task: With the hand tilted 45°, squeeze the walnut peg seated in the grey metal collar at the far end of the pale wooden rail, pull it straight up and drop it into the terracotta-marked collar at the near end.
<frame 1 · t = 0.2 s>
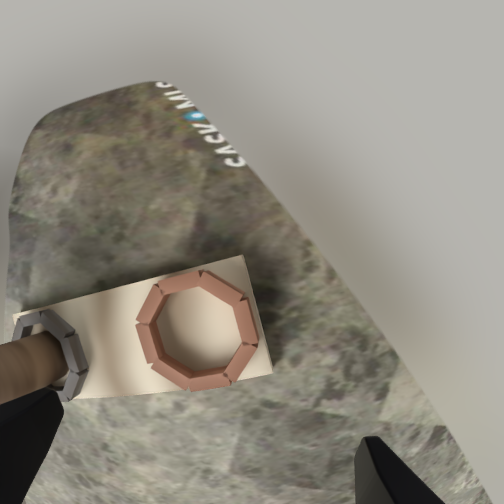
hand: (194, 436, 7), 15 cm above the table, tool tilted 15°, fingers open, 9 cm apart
walnut peg: (51, 354, 23), point 1 cm above the table, touching socket rail
socket rail: (120, 341, 23), on the table
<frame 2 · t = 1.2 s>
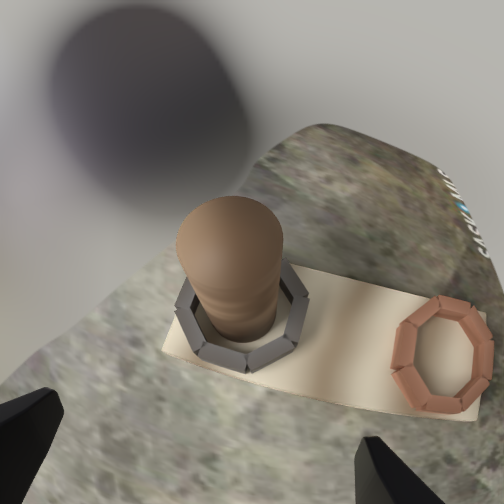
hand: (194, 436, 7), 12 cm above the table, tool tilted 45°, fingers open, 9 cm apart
walnut peg: (242, 310, 21), point 1 cm above the table, touching socket rail
socket rail: (344, 342, 20), on the table
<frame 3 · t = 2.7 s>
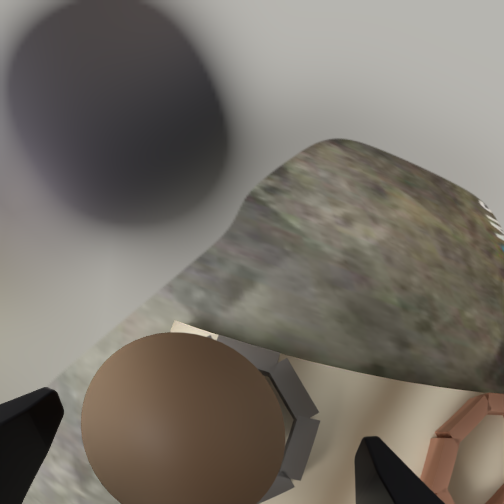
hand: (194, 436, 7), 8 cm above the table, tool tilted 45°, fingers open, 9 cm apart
walnut peg: (224, 425, 13), point 1 cm above the table, touching socket rail
socket rail: (362, 457, 13), on the table
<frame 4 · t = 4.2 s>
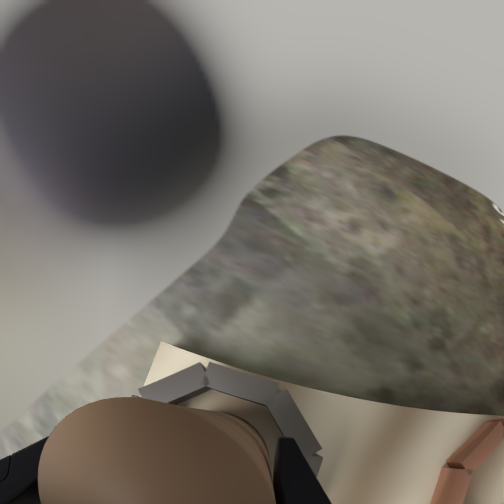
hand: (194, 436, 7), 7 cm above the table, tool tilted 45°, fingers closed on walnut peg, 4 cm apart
walnut peg: (217, 458, 11), point 1 cm above the table, touching gripper, socket rail
socket rail: (367, 487, 11), on the table
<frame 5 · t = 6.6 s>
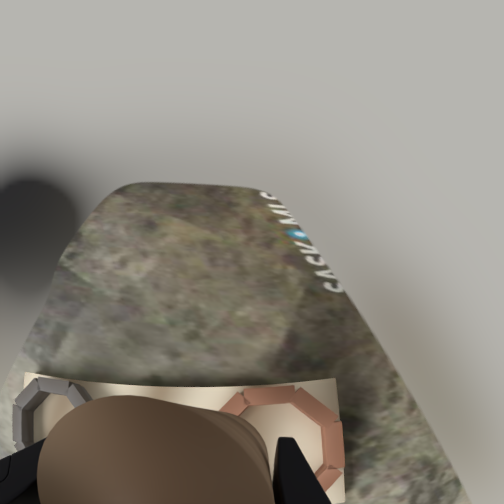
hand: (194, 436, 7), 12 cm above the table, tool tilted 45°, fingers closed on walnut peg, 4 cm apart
walnut peg: (216, 458, 11), point 7 cm above the table, touching gripper
socket rail: (161, 448, 17), on the table
when the fingers open (7 cm above the table, at t = 8.8 s): walnut peg stays where it is, resting on socket rail.
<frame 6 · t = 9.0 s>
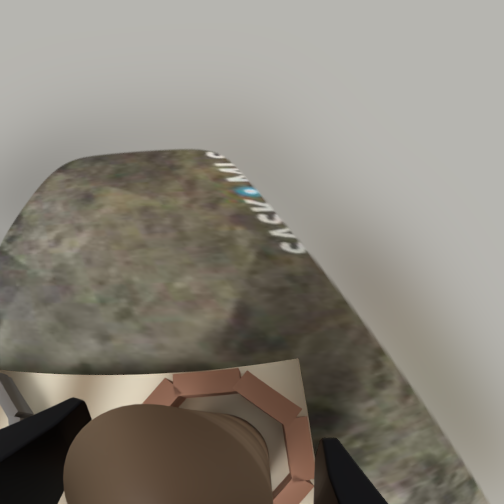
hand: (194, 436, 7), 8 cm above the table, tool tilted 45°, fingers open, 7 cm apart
walnut peg: (220, 457, 12), point 1 cm above the table, touching socket rail
socket rail: (93, 451, 13), on the table
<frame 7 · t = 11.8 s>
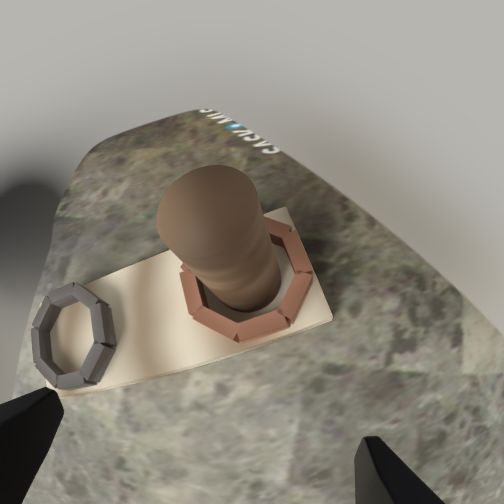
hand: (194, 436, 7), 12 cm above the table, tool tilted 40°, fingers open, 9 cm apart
walnut peg: (247, 280, 21), point 1 cm above the table, touching socket rail
socket rail: (158, 317, 22), on the table
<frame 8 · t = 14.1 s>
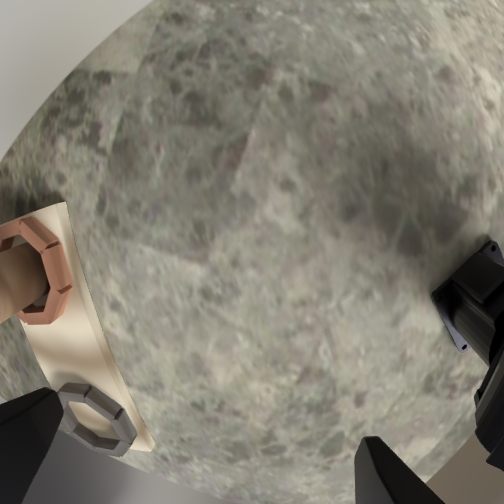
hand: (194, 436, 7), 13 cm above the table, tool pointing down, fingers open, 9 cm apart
walnut peg: (33, 269, 20), point 1 cm above the table, touching socket rail
socket rail: (70, 345, 23), on the table
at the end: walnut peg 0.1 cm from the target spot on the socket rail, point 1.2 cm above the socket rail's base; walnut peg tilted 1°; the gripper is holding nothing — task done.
